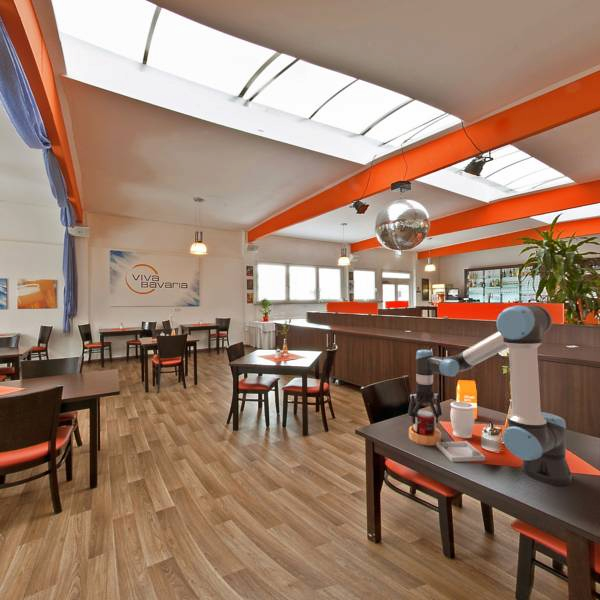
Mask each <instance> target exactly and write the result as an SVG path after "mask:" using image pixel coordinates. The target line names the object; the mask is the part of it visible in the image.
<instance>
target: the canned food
mask: <svg viewBox="0 0 600 600" xmlns="http://www.w3.org/2000/svg"><path fill="white" fill-rule="evenodd" d="M416 417H417V432H416V434H419V435H423V436H434V414H433V412H432V411H429V410H424V409H421V410H420V409H419V410H418V413H417V415H416Z"/></svg>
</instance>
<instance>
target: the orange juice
mask: <svg viewBox="0 0 600 600" xmlns="http://www.w3.org/2000/svg"><path fill="white" fill-rule="evenodd" d="M476 387H477V385H476V381H475V380H467V379H465V380H462V379H458V381H457V385H456V402H467V403H470V404H473V405H474V406H475V408H474V409H473V411H474V416H475V420H476V419H477V417H478V412H477V411H478V409H477V408H478V404H477V403H478V400H477V399H478V398H477V397H478V391H477V388H476Z"/></svg>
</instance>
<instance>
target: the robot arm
mask: <svg viewBox="0 0 600 600" xmlns="http://www.w3.org/2000/svg"><path fill="white" fill-rule="evenodd" d="M495 323H496V325H495V326H496V329H497V331H496V332H494V333H493V334H491V335H489V336H487V337H485V338H484V339H482V340H481V341H479V342H477V343H475V344H474V345H472V346H470V347H468V348H467V349H465V350H463V351H461V352H460V353H458V354H456V355H449V356H444V357H443V356H442V357H441V356H436V355H434V351H433V350H431V349H418V350H417V351H416V355H415V366H416V371H415V373H416V374H415V375H416V376H415V377H416V378H415V379H416V380H415V381H416V383H415V385H416V390H415V391H416V392H415V393H414V394H412V393H410V394H409V405H408V409H407V415H408V416H409V417H411V423H412V425H414V430H415V431H416V432H417V417H416V415H417V413H418V411H419V410H420V409H421V406H422V405H423V404H425V403H427V404H428V406H429V408H430V410H431V412H432V413H433V414H434V431H436V428H437V424H438V423H439V421H438V420H439V419H438V418H439V417H440V416H442V415H443V414H442V413H443V412H442V407H441V406H442V405H441V402H440V398H441V397H440V396H441V395H440V394H438V393H434V384H433V383H434V374H438V375H443V376H445V377H455V376H456V375H457V374H458V373H459V372H466V371H469V370H471V369H472V368H474V367H475V365H477V364H480V363H481V362H483V361H486V360H487V359H489V358H491V357H493V356H495V355H497V354H499V353H501V352H503V351H505V350H506V349H508V358H509V359H508V360H509V375H510V376H509V378H510V379H509V380H510V394H511V413H509V414H508V415H507V426H508V427H506V428H505V429H504V430H503V433H502V441H503V444H504V445H505V448H507V450H508V451H509V453H511V455H513V456H515V457H516V458H519V459H521V460H522V462H521V468H522V469H521V470H522V471H523V473H524V474H525V475H527V476H529V477H530V478H532V479H533V480H536V481H538V482H540V483H541V482H542V483H545V484H549V485H556V486H567V485H570V484H571V483H572V472H571V470H570V467H569V465H568V462H567V459H566V454H567V453H566V451H567V450H566V448H567V446H566V444H567V443H566V442H567V441H566V439H567V432H566V431H567V426H566V420H565V419H564V418H563V417H561V416H559V415H556V414H553V413H548V412H544V411H542V410H541V395H540V394H541V393H540V378H539V377H540V376H539V362H538V361H539V360H538V359H539V358H538V348H539V346H541V345H542V344H543V341H542V340H543V338H542V335H544V334H545V333H547V332H548V331H549V330H550V329H551V327H552V325H553V318H552V315H551V313H550V312H549V311H548V310H547V308H544V307H543V306H540V305H536V304H530V305H513V306H508V307H506V308H505V309H503V310H502V311H501V312H500V313H499V314H498V316H497V319H496V322H495ZM416 398H417V399H416ZM433 398H434V402H435V403H433V400H432V399H433ZM415 400H416V403H415ZM434 404H435V405H434Z"/></svg>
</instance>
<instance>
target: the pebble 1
mask: <svg viewBox="0 0 600 600" xmlns="http://www.w3.org/2000/svg"><path fill="white" fill-rule="evenodd" d="M441 442H442V443H441V446H442V447H443V448H444V449H447V448H448V444H447V442H448V441H441Z"/></svg>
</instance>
